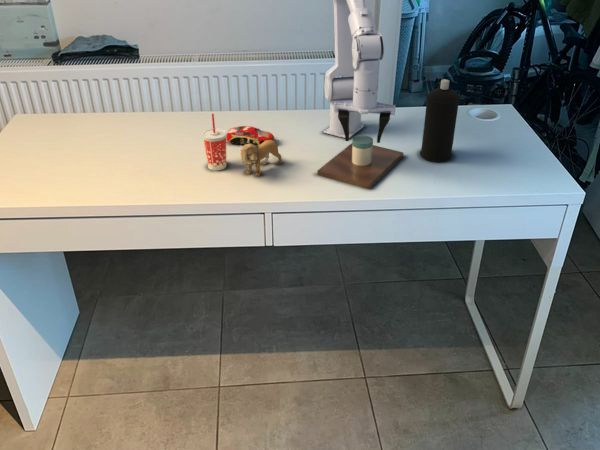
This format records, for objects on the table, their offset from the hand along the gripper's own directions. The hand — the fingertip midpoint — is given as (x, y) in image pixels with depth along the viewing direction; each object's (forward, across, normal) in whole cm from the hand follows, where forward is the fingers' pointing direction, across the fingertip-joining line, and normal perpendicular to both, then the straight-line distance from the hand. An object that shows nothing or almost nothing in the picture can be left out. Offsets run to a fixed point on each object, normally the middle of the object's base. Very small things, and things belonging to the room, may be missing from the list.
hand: (362, 140), depth 151 cm
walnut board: (+7, 0, 0) cm, 7 cm away
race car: (+7, -31, +10) cm, 33 cm away
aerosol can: (+7, +19, +8) cm, 22 cm away
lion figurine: (+7, -24, -6) cm, 26 cm away
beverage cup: (+7, -36, -5) cm, 37 cm away
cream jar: (+6, 0, 0) cm, 6 cm away
